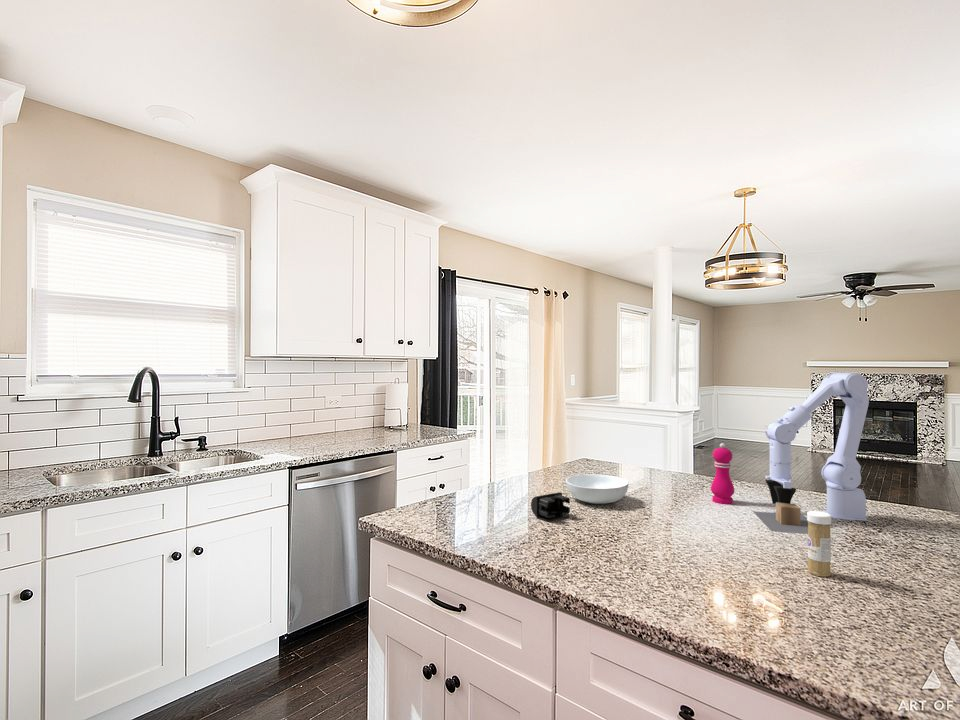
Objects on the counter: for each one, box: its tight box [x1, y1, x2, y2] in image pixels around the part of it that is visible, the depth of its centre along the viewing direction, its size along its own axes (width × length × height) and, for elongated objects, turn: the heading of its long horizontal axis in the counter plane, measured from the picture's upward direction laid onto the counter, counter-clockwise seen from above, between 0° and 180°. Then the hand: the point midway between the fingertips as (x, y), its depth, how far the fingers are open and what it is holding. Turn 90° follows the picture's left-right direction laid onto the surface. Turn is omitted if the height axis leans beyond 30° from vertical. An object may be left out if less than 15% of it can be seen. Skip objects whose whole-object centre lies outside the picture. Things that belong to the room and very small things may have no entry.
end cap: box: [530, 492, 571, 523], centre depth 160 cm, size 10×7×7 cm
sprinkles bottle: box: [806, 510, 832, 578], centre depth 117 cm, size 5×5×14 cm
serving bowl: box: [565, 473, 630, 505], centre depth 179 cm, size 21×21×7 cm
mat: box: [752, 511, 808, 535], centre depth 154 cm, size 14×20×1 cm
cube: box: [775, 502, 801, 526], centre depth 154 cm, size 5×5×5 cm
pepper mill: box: [710, 442, 735, 505], centre depth 177 cm, size 7×7×20 cm
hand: (780, 506), depth 161 cm, fingers open, 7 cm apart
